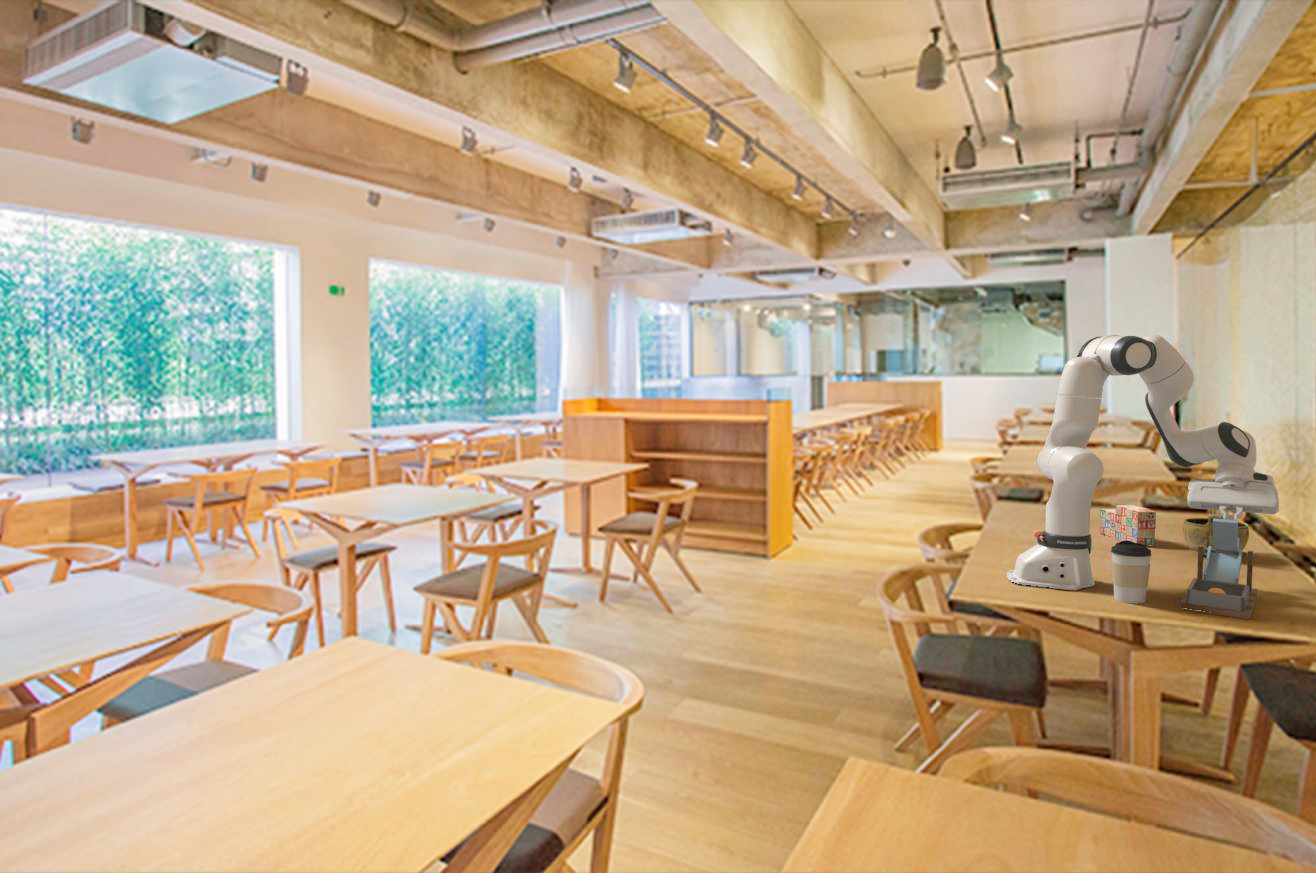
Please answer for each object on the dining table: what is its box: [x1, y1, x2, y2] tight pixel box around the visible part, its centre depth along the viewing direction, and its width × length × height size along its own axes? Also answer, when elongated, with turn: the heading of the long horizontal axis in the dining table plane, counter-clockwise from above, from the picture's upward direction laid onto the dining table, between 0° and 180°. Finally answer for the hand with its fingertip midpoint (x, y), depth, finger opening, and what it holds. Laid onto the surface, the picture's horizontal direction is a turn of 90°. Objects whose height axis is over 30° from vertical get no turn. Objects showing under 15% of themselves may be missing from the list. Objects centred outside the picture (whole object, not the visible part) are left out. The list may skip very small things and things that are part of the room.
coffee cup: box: [1110, 541, 1152, 605], centre depth 199 cm, size 9×9×15 cm
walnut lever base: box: [1179, 545, 1259, 620], centre depth 196 cm, size 26×14×12 cm, turn 139°
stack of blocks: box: [1099, 504, 1157, 547], centre depth 268 cm, size 21×6×12 cm, turn 1°
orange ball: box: [1208, 588, 1226, 594], centre depth 189 cm, size 4×4×4 cm
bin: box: [1186, 577, 1249, 612], centre depth 192 cm, size 14×12×4 cm
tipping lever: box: [1203, 518, 1247, 585], centre depth 201 cm, size 18×9×16 cm, turn 138°
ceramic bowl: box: [1182, 510, 1250, 557], centre depth 243 cm, size 22×17×15 cm
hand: (1229, 521), depth 207 cm, fingers closed
